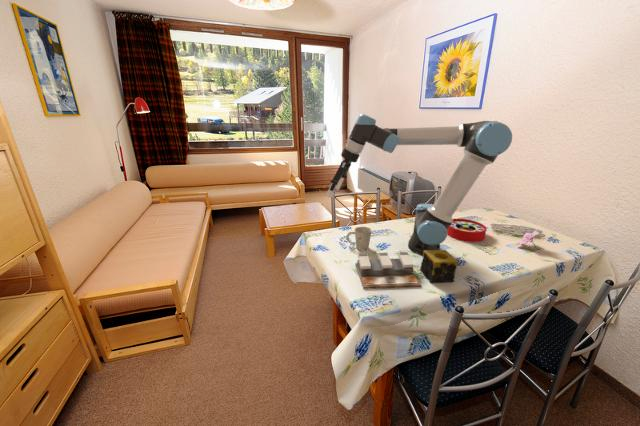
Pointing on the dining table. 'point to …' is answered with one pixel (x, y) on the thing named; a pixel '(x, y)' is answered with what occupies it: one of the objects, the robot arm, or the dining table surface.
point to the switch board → (387, 275)
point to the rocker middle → (385, 260)
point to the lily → (528, 238)
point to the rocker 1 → (364, 261)
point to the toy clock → (467, 230)
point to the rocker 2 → (405, 259)
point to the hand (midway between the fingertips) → (332, 192)
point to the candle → (438, 266)
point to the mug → (361, 237)
